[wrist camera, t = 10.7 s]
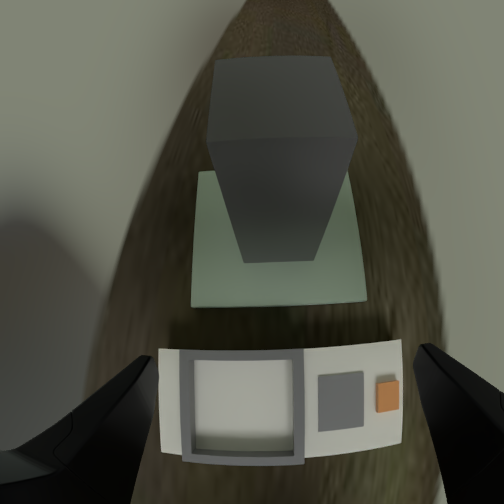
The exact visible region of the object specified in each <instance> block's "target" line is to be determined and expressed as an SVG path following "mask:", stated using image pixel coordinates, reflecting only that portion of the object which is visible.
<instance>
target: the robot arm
mask: <svg viewBox="0 0 504 504" xmlns="http://www.w3.org/2000/svg"><path fill="white" fill-rule="evenodd" d="M413 369H414V373H415V377H416V382H417V386H418V391H419V396H420V400H421V404H422V408H423V411H424V414H425V417H426V420H427V424H428V427H429V430H430V434H431V437H432V441H433V444H434V448H435V452H436V455H437V459H438V463H439V467H440V471H441V475H442V480H443V484H444V489H445V493H446V498H447V503H448V504H504V393H503V392H501V391H499V390H498V389H497V388H495V387H494V386H493V385H491V384H490V383H488V382H487V381H486V380H484V379H483V378H481V377H479V376H478V375H477V374H476V373H474V372H473V371H471V370H470V369H468V368H467V367H465V366H464V365H462V364H461V363H459V362H458V361H457V360H455V359H454V358H452V357H451V356H449V355H448V354H446V353H445V352H443V351H442V350H441V349H439V348H438V347H436V346H435V345H433V344H431V343H425V344H421V345H420V346H419V347H418V350H417V353H416V356H415V358H414V361H413ZM158 383H159V372H158V369H157V366H156V363H155V361H154V358H153V357H152V356H145V355H141V356H139V357H138V358H137V359H136V360H134V361H133V362H132V363H131V364H129V365H128V366H127V367H126V368H124V369H123V370H122V371H121V372H119V373H118V374H117V375H116V376H115V377H113V378H112V379H111V380H110V381H108V382H107V383H106V384H105V385H103V386H102V387H101V388H100V389H98V390H97V391H96V392H95V393H93V394H92V395H91V396H90V397H89V398H87V399H86V400H85V401H84V402H82V403H81V404H80V405H79V406H77V407H76V408H75V409H74V410H72V412H70V413H68V414H67V415H66V416H65V417H63V418H62V419H61V420H59V421H58V422H57V423H55V424H54V425H53V426H51V427H50V428H48V429H47V430H45V431H44V432H42V433H41V434H39V435H37V436H36V437H34V438H33V439H31V440H29V441H28V442H26V443H25V444H23V445H21V446H20V447H18V448H16V449H12V450H6V451H0V504H130V503H131V498H132V494H133V490H134V486H135V482H136V478H137V474H138V470H139V466H140V462H141V458H142V455H143V451H144V447H145V443H146V440H147V436H148V433H149V429H150V425H151V422H152V418H153V413H154V407H155V401H156V395H157V389H158Z"/></svg>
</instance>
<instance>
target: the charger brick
mask: <svg viewBox="0 0 504 504" xmlns="http://www.w3.org/2000/svg"><path fill="white" fill-rule="evenodd" d="M357 140H358V136H357V132H356V129H355V126H354V122H353V119H352V116H351V113H350V110H349V107H348V103H347V100H346V97H345V95H344V92H343V89H342V86H341V83H340V80H339V78H338V75H337V72H336V69H335V67H334V64H333V62H332V59H331V57H324V56H261V57H244V58H232V59H222V60H215V67H214V75H213V83H212V91H211V100H210V108H209V118H208V127H207V137H206V144H207V147H208V150H209V154H210V157H211V160H212V163H213V167H214V170H215V173H216V176H217V180H218V183H219V186H220V189H221V192H222V196H223V199H224V202H225V205H226V208H227V212H228V215H229V218H230V221H231V224H232V228H233V231H234V234H235V237H236V240H237V243H238V247H239V250H240V253H241V256H242V259H243V262H244V263H267V262H292V261H314V258H315V256H316V253H317V251H318V248H319V246H320V243H321V241H322V238H323V236H324V233H325V230H326V228H327V225H328V222H329V220H330V217H331V214H332V212H333V209H334V206H335V204H336V201H337V198H338V195H339V192H340V190H341V187H342V184H343V181H344V178H345V175H346V173H347V170H348V167H349V164H350V161H351V158H352V155H353V152H354V149H355V146H356V143H357Z"/></svg>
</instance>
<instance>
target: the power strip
mask: <svg viewBox="0 0 504 504" xmlns="http://www.w3.org/2000/svg"><path fill="white" fill-rule="evenodd" d="M402 417H403V368H402V345H401V339H400V340H392V341H385V342H376V343H368V344H358V345H348V346H336V347H324V348H309V349H304V348H303V349H283V350H183V349H179V350H176V349H159V418H160V438H161V452H164V453H171V454H179V455H182V461H185V462H194V463H205V464H218V465H239V466H279V465H299V464H304V458H307V457H319V456H329V455H337V454H345V453H351V452H358V451H364V450H370V449H375V448H380V447H385V446H390V445H394V444H399V443H401V439H402Z"/></svg>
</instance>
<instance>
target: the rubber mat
mask: <svg viewBox="0 0 504 504" xmlns="http://www.w3.org/2000/svg"><path fill="white" fill-rule="evenodd" d="M366 300H367V293H366V283H365V274H364V266H363V258H362V251H361V243H360V237H359V230H358V224H357V218H356V212H355V206H354V201H353V195H352V190H351V185H350V180H349V175H348V170H347V173H346V175H345V178H344V181H343V184H342V187H341V190H340V192H339V195H338V198H337V201H336V204H335V206H334V209H333V212H332V214H331V217H330V220H329V222H328V225H327V228H326V230H325V233H324V236H323V238H322V241H321V243H320V246H319V248H318V251H317V253H316V256H315V258H314V261H292V262H267V263H244V262H243V259H242V256H241V253H240V250H239V247H238V243H237V240H236V237H235V234H234V231H233V228H232V224H231V221H230V218H229V215H228V212H227V208H226V205H225V202H224V199H223V196H222V192H221V189H220V186H219V183H218V180H217V176H216V173H215V171H204V172H199V176H198V187H197V199H196V213H195V227H194V244H193V263H192V286H191V307H193V308H237V307H274V306H299V305H318V304H335V303H350V302H364V301H366Z"/></svg>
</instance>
